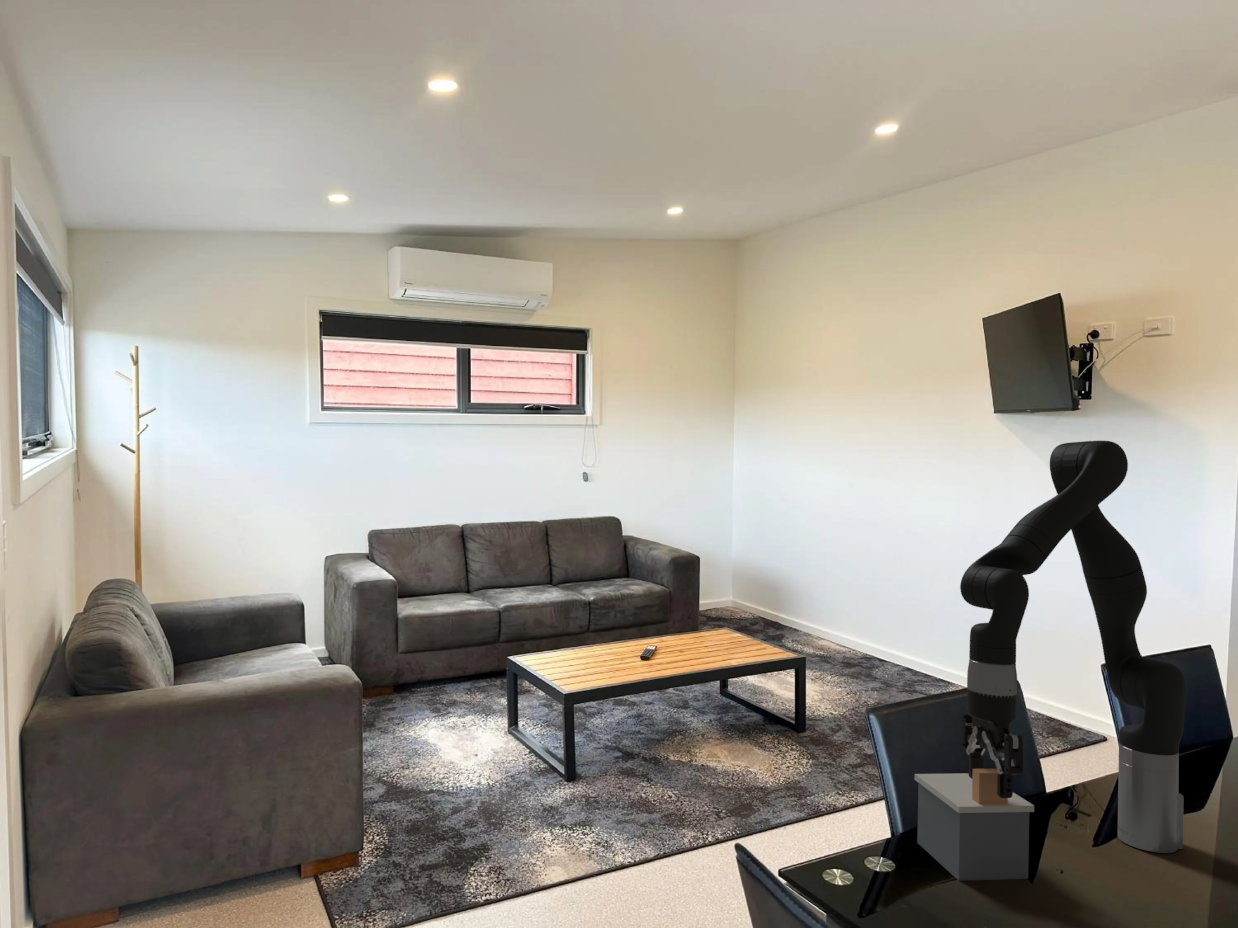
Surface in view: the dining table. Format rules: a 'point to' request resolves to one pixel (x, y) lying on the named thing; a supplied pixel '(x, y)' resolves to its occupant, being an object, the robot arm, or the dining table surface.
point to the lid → (972, 792)
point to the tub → (973, 840)
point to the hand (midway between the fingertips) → (989, 787)
